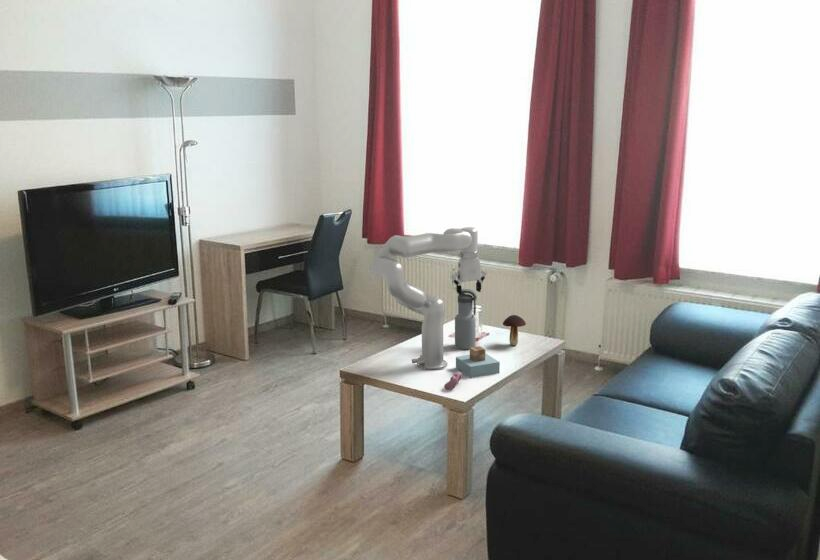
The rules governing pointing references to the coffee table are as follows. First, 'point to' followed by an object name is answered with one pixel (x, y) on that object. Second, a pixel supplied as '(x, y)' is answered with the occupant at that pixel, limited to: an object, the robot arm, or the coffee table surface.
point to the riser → (477, 366)
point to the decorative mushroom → (514, 327)
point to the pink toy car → (453, 380)
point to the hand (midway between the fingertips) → (468, 292)
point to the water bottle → (465, 320)
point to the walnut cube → (477, 353)
